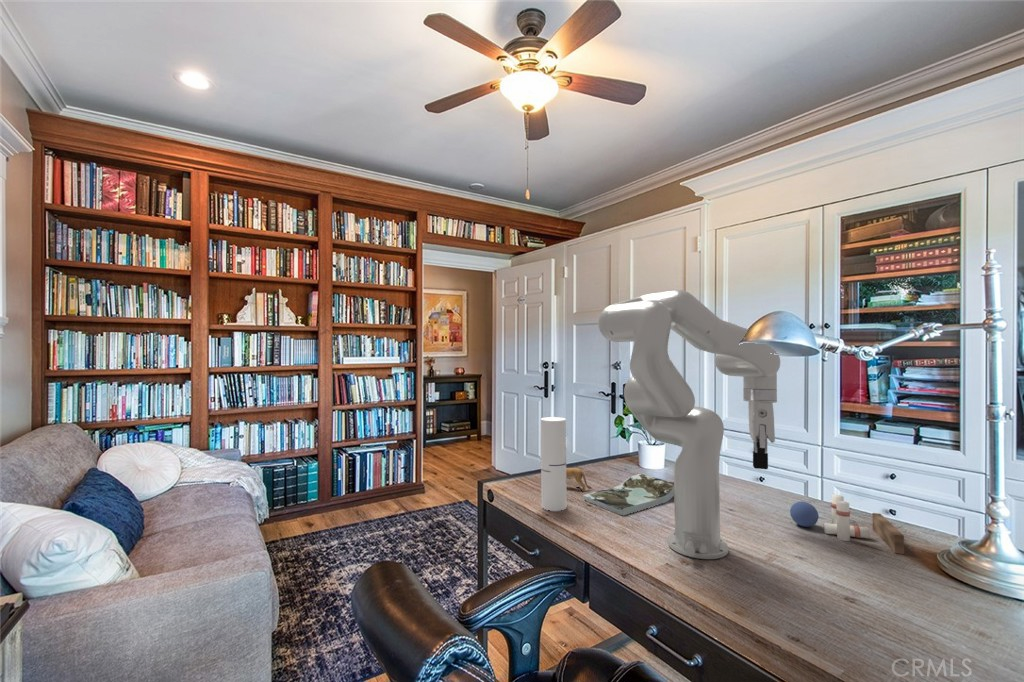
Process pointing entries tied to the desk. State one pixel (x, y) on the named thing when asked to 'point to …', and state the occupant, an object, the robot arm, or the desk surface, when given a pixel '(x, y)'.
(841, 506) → the rear pin near
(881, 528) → the stopper rail
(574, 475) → the lion figurine
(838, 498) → the rear pin far
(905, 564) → the desk surface
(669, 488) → the topographical model
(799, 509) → the ball
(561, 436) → the cylindrical container
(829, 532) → the front pin
